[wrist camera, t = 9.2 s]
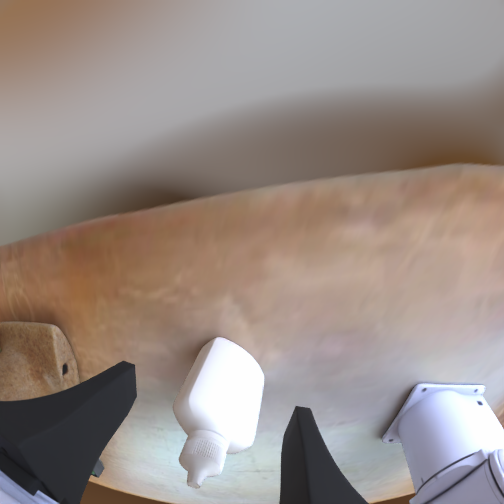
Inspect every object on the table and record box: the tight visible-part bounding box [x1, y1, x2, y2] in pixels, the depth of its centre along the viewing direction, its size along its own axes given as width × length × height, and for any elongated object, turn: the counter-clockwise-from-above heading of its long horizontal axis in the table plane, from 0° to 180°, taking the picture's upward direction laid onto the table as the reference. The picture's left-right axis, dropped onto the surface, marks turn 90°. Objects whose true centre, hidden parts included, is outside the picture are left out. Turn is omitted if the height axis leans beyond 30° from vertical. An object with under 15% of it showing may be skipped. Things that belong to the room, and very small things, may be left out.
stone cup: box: [0, 321, 79, 401], centre depth 20 cm, size 15×12×15 cm
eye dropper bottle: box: [173, 337, 265, 488], centre depth 17 cm, size 4×6×12 cm
